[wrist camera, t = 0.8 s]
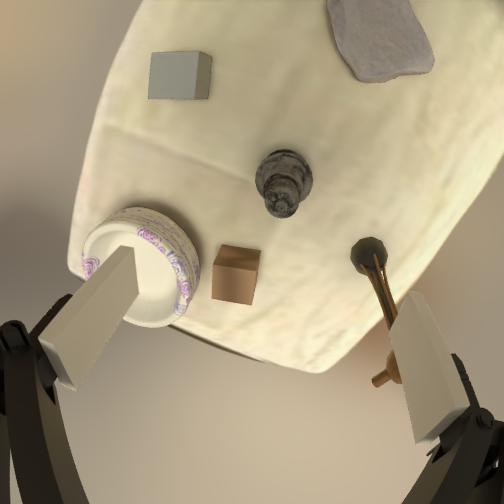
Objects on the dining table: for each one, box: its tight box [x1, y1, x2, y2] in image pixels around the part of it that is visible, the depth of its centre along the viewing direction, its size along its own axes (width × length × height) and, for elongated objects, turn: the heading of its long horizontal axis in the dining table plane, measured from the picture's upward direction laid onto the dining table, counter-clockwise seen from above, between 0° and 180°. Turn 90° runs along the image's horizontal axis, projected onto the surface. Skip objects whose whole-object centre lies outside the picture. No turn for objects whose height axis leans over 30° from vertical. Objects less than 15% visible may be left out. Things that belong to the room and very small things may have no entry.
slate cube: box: [148, 51, 212, 99], centre depth 27 cm, size 5×5×5 cm
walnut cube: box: [212, 245, 261, 305], centre depth 38 cm, size 5×5×5 cm
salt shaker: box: [255, 150, 313, 218], centre depth 28 cm, size 6×6×12 cm
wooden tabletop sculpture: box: [350, 237, 402, 388], centre depth 28 cm, size 6×5×20 cm
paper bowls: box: [82, 207, 200, 327], centre depth 37 cm, size 15×15×8 cm
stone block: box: [326, 0, 435, 83], centre depth 23 cm, size 12×5×10 cm
